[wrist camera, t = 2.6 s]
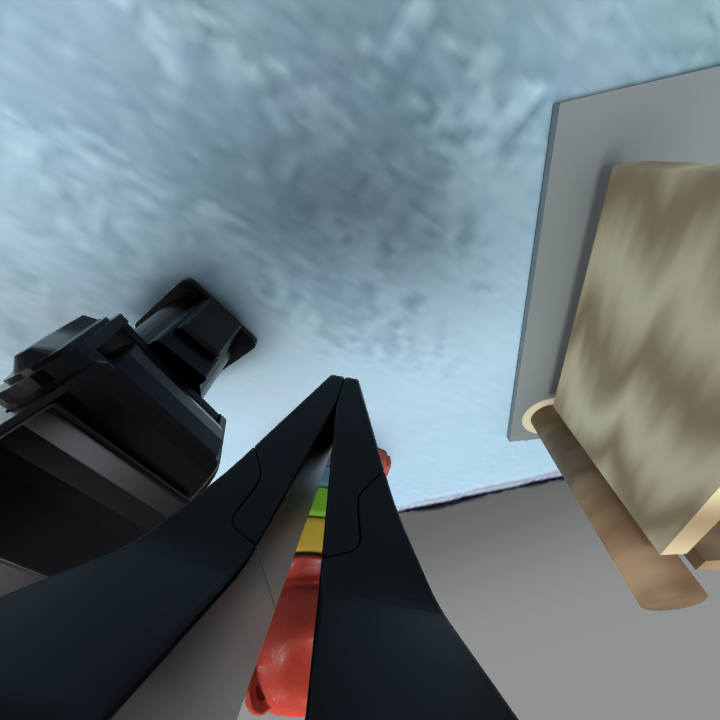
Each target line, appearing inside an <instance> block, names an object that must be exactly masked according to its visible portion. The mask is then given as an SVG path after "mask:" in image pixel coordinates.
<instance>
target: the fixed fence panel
mask: <svg viewBox="0 0 720 720" xmlns="http://www.w3.org/2000/svg"><path fill="white" fill-rule="evenodd" d="M531 423H532V425H533V427H534V428H535V430H536V432H537V433H538V435H539V437H540V439H541V440H542V442H543V444H544V445H545V447H546V449H547V450H548V452H549V454H550V455H551V457H552V459H553V460H554V462H555V464H556V465H557V467H558V469H559V470H560V472H561V474H562V476H563V477H564V479H565V481H566V482H567V484H568V485H569V487H570V489H571V491H572V492H573V494H574V496H575V497H576V499H577V501H578V502H579V504H580V506H581V507H582V509H583V511H584V512H585V514H586V516H587V518H588V519H589V521H590V523H591V524H592V526H593V528H594V529H595V531H596V533H597V534H598V536H599V538H600V539H601V541H602V543H603V544H604V546H605V548H606V550H607V551H608V553H609V555H610V556H611V558H612V560H613V561H614V563H615V565H616V566H617V568H618V570H619V571H620V573H621V575H622V576H623V578H624V580H625V581H626V583H627V585H628V587H629V588H630V590H631V592H632V593H633V595H634V597H635V598H636V600H637V602H638V603H639V605H640V607H642V608H644V609H647V610H673V609H680V608H685V607H689V606H692V605H696V604H698V603H701V602H703V601H704V600H706V599H707V598H708V594H707V593H706V592H705V590H704V589H703V588H702V586H701V585H700V584H699V583H698V581H697V580H696V579H695V577H694V576H693V575H692V573H691V572H690V571H689V570H688V568H687V567H686V565H685V564H684V563H683V562H682V560H681V559H680V558H679V556H678V555H677V554H671V555H660V554H659V553H658V551H657V550H656V549H655V547H654V546H653V545H652V543H651V542H650V540H649V539H648V538H647V536H646V535H645V533H644V532H643V531H642V529H641V528H640V526H639V525H638V524H637V522H636V521H635V519H634V518H633V517H632V515H631V514H630V513H629V511H628V510H627V508H626V507H625V506H624V504H623V503H622V501H621V500H620V499H619V497H618V496H617V494H616V493H615V492H614V490H613V489H612V487H611V486H610V485H609V483H608V482H607V481H606V479H605V478H604V476H603V475H602V474H601V472H600V471H599V469H598V468H597V467H596V465H595V464H594V462H593V461H592V460H591V458H590V457H589V455H588V454H587V453H586V451H585V450H584V448H583V447H582V446H581V444H580V443H579V442H578V440H577V439H576V437H575V436H574V435H573V433H572V432H571V430H570V429H569V428H568V426H567V425H566V423H565V422H564V421H563V419H562V418H561V416H560V415H559V414H558V412H557V411H556V410H555V408H554V407H553V405H547V406H544V407H542V408H540V409H538V410H537V411H536V412H534V414H533V415H532V417H531ZM684 555H685V557H686V558H687V559H688V561H689V562H690V563H691V565H692V566H693V567H694V568H695V570H710V569H720V520H719V521H718V522H717V523H716V524H715V525H714V526H713V527H712V528H711V529H710V530H709V531H708V532H707V533H706V534H705V535H704V536H703V537H702V538H701V539H700V540H699V541H698V543H697V544H696V545H695V546H694V547H693V548H692V549H691V550H690V551H689V552H688V553H687V554H684Z"/></svg>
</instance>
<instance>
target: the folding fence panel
mask: <svg viewBox="0 0 720 720" xmlns="http://www.w3.org/2000/svg"><path fill="white" fill-rule="evenodd" d="M553 407H554V408H555V410H556V411H557V412H558V414H559V415H560V416H561V418H562V419H563V421H564V422H565V423H566V425H567V426H568V428H569V429H570V430H571V432H572V433H573V435H574V436H575V437H576V439H577V440H578V442H579V443H580V444H581V446H582V447H583V448H584V450H585V451H586V453H587V454H588V455H589V457H590V458H591V460H592V461H593V462H594V464H595V465H596V467H597V468H598V469H599V471H600V472H601V474H602V475H603V476H604V478H605V479H606V481H607V482H608V483H609V485H610V486H611V487H612V489H613V490H614V492H615V493H616V494H617V496H618V497H619V499H620V500H621V501H622V503H623V504H624V506H625V507H626V508H627V510H628V511H629V513H630V514H631V515H632V517H633V518H634V519H635V521H636V522H637V524H638V525H639V526H640V528H641V529H642V531H643V532H644V533H645V535H646V536H647V538H648V539H649V540H650V542H651V543H652V545H653V546H654V547H655V549H656V550H657V551H658V553H659V554H660V555H671V554H687V553H688V552H689V551H690V550H691V549H692V548H693V547H694V546H695V545H696V544H697V543H698V541H699V540H700V539H701V538H702V537H703V536H704V535H705V534H706V533H707V532H708V531H709V530H710V529H711V528H712V527H713V526H714V525H715V524H716V523H717V522H718V521H719V520H720V164H715V163H690V162H665V161H635V162H630V163H625V164H620V165H615V166H613V168H612V172H611V176H610V180H609V184H608V188H607V192H606V196H605V200H604V204H603V208H602V212H601V216H600V220H599V224H598V228H597V232H596V236H595V240H594V244H593V248H592V252H591V256H590V260H589V264H588V268H587V272H586V276H585V280H584V284H583V288H582V292H581V296H580V300H579V304H578V308H577V312H576V316H575V320H574V324H573V328H572V332H571V336H570V340H569V344H568V348H567V352H566V356H565V360H564V364H563V368H562V372H561V376H560V380H559V384H558V388H557V392H556V396H555V400H554V404H553Z"/></svg>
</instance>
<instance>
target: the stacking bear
mask: <svg viewBox="0 0 720 720" xmlns="http://www.w3.org/2000/svg"><path fill="white" fill-rule="evenodd" d="M378 450H379V449H378ZM331 451H332V449H331ZM379 454H380V457H381V461H382V464H383V468H384V472H385V474H386V476H387V475H388V472H389V469H390V466H391V460H390V458H389V457H388V456H387V454H386V453H385V452H383V451H382V450H379ZM330 462H331V452H330V455H329V458H328V461H327V464H326V466H325V469H324V472H323V475H322V478H321V481H320V484H319V486H318V489H317V492H316V495H315V498H314V501H313V504H312V506H311V509H310V512H309V515H308V518H307V521H306V523H305V526H304V529H303V532H302V535H301V538H300V541H299V543H298V546H297V549H296V552H295V555H294V558H293V560H292V563H291V566H290V569H289V572H288V575H287V578H286V580H285V583H284V586H283V589H282V592H281V595H280V598H279V600H278V603H277V606H276V607H275V612H274V615H273V618H272V621H271V623H270V626H269V629H268V632H267V635H266V638H265V640H264V643H263V646H262V649H261V652H260V655H259V658H258V660H257V663H256V666H255V669H254V672H253V675H252V677H251V680H250V683H249V686H248V689H247V692H246V694H245V697H244V699H245V704H246V707H247V709H248V710H249V712H250V713H252V714H253V715H257V716H261V715H264V714H265V713H266V712H268V711H269V712H270V713H273V714H275V715H278V716H287V717H305V714H306V704H307V694H308V685H309V675H310V666H311V656H312V647H313V637H314V628H315V618H316V609H317V599H318V589H319V579H320V569H321V559H322V547H323V537H324V526H325V515H326V505H327V494H328V483H329V473H330Z"/></svg>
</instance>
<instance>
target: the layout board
mask: <svg viewBox="0 0 720 720" xmlns="http://www.w3.org/2000/svg"><path fill="white" fill-rule="evenodd" d="M635 161H665V162H690V163H715V164H720V66H717V67H712V68H708V69H704V70H699V71H695V72H691V73H686V74H682V75H678V76H673V77H669V78H665V79H660V80H656V81H652V82H647V83H643V84H639V85H634V86H630V87H626V88H621V89H617V90H613V91H608V92H604V93H600V94H595V95H591V96H587V97H582V98H578V99H574V100H569V101H565V102H561V103H557V104H554V107H553V114H552V121H551V128H550V135H549V142H548V149H547V156H546V164H545V171H544V178H543V185H542V192H541V199H540V206H539V213H538V220H537V227H536V235H535V242H534V249H533V256H532V263H531V270H530V277H529V284H528V291H527V298H526V306H525V313H524V320H523V327H522V334H521V341H520V348H519V355H518V362H517V369H516V377H515V384H514V391H513V398H512V405H511V412H510V419H509V426H508V433H507V438H508V440H509V442H511V441H521V440H531V439H540V437H539V435H538V433H537V432H536V430H535V428H534V427H533V425H532V423H531V417H532V415H533V414H534V412H536V411H537V410H538V409H540V408H542V407H544V406H547V405H553V404H554V400H555V396H556V392H557V388H558V384H559V380H560V376H561V372H562V368H563V364H564V360H565V356H566V352H567V348H568V344H569V340H570V336H571V332H572V328H573V324H574V320H575V316H576V312H577V308H578V304H579V300H580V296H581V292H582V288H583V284H584V280H585V276H586V272H587V268H588V264H589V260H590V256H591V252H592V248H593V244H594V240H595V236H596V232H597V228H598V224H599V220H600V216H601V212H602V208H603V204H604V200H605V196H606V192H607V188H608V184H609V180H610V176H611V172H612V168H613V166H615V165H620V164H625V163H630V162H635Z"/></svg>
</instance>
